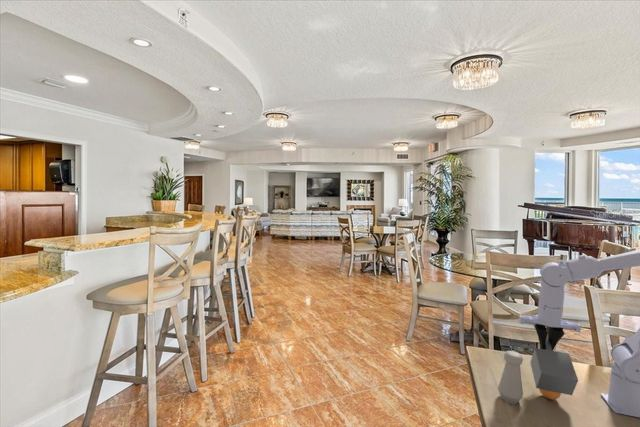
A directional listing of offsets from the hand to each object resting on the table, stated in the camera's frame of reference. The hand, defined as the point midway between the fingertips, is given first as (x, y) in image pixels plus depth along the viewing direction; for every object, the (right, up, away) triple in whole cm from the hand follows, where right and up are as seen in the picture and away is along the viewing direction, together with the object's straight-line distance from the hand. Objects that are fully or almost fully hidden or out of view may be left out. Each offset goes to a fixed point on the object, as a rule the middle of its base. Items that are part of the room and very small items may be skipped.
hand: (546, 350), depth 95 cm
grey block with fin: (-1, -4, -2) cm, 5 cm away
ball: (-2, -8, -5) cm, 10 cm away
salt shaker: (-14, -11, -6) cm, 19 cm away
